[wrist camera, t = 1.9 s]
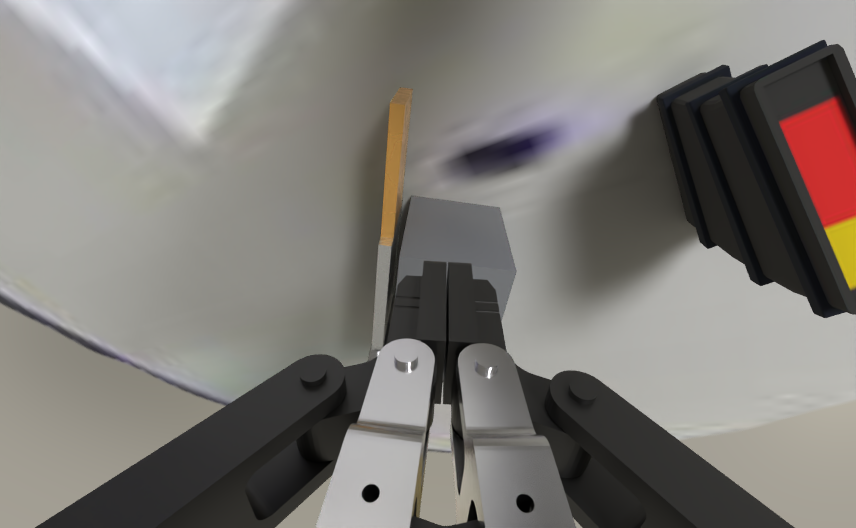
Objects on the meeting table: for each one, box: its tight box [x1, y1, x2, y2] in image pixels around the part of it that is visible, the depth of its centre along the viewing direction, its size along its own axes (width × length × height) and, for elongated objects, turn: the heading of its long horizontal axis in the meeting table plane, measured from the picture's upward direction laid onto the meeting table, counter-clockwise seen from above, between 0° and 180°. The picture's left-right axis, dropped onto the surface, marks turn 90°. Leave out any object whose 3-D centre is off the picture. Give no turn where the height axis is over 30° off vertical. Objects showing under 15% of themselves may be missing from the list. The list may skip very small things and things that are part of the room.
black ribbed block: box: [657, 40, 856, 318], centre depth 23 cm, size 4×13×15 cm, turn 30°
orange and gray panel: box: [368, 87, 413, 361], centre depth 27 cm, size 19×1×8 cm, turn 173°
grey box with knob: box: [395, 196, 516, 383], centre depth 30 cm, size 12×7×10 cm, turn 173°
